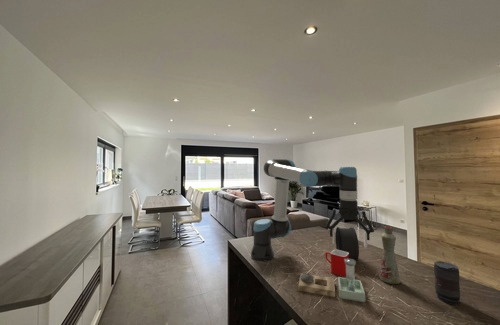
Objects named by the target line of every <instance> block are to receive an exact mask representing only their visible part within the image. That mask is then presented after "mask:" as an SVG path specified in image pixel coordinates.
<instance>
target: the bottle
mask: <svg viewBox="0 0 500 325" xmlns="http://www.w3.org/2000/svg"><path fill="white" fill-rule="evenodd" d="M380 236H381V241H382V247H383V249H382V253H381V254H382V256H381V263H380V268H379V273H378V277H379V279H380V280H381V281H382V282H384V283H385V284H388V285H397V284H400V283H401V277H400V272H399V269H398V268H399V267H398V263H397V259H396V254H395V245H396V239H397V237H396V236H395V235H394V233H393V227H392V226H391V225H384V232H383V233H382V234H381V235H380Z"/></svg>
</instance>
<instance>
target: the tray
mask: <svg viewBox="0 0 500 325" xmlns="http://www.w3.org/2000/svg"><path fill="white" fill-rule="evenodd" d="M337 286H338V294H339V299H344V300H348V301H354V302H360V303H366V293H365V289H364V287H363V284H362V281H361V279H360V280H359V279H355V292H353V291H347V290H346V277H343V276H338V277H337Z"/></svg>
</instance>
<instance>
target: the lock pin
mask: <svg viewBox="0 0 500 325" xmlns="http://www.w3.org/2000/svg"><path fill="white" fill-rule="evenodd" d="M344 263H345V264H346V276H345V278H346V290H347V291H353V292H355V280H356V276H355V271H356V270H355V266H356V264H357V261H355V260H353V259H349V258H346V259H344Z"/></svg>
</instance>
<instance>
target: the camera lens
mask: <svg viewBox="0 0 500 325" xmlns="http://www.w3.org/2000/svg"><path fill="white" fill-rule="evenodd" d="M433 274H434V281H435V282H434V289H435V293H436V294H437V295H436V296H437V298H438V299H439V300H440V301H441V302H443V303H447V304H449V305H459V303H460V300H461V290H460V289H461V288H460V279H461V278H460V269H459V267H458V266H457V265H455V264H453V263H451V262H448V261H442V260H441V261H440V260H439V261H434V263H433Z"/></svg>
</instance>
